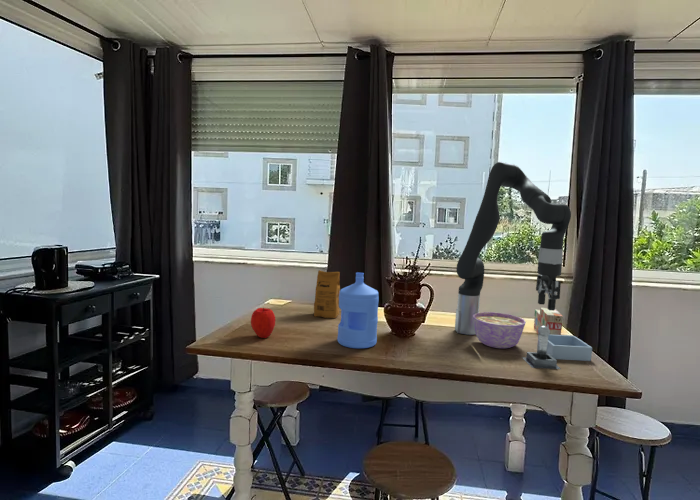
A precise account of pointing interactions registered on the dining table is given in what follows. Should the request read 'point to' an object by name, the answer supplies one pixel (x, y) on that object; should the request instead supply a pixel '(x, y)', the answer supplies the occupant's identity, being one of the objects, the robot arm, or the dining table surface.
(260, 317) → the apple
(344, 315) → the water jug
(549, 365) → the socket block
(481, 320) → the bowl of food
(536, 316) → the stack of blocks
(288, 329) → the dining table surface
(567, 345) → the bin
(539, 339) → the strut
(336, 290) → the coffee package
